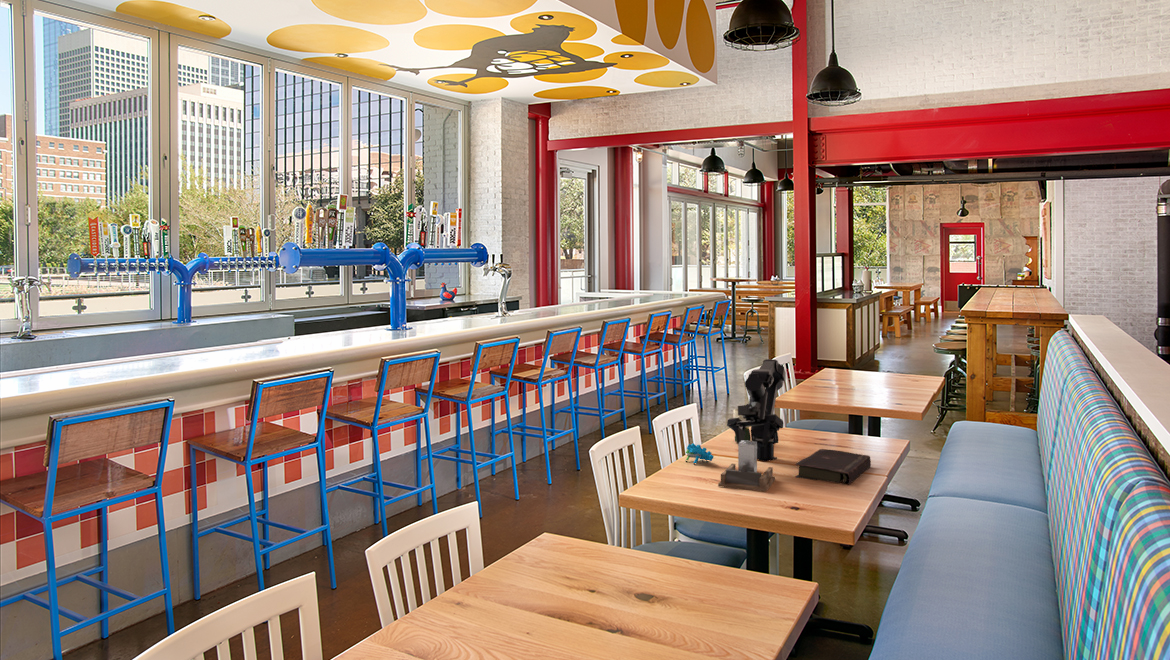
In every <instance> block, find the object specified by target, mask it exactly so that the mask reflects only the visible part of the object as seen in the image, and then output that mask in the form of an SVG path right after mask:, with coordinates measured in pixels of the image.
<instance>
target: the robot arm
mask: <svg viewBox="0 0 1170 660" xmlns="http://www.w3.org/2000/svg"><path fill="white" fill-rule="evenodd" d="M786 375H787V374H786V369H785V367H784V365H782V364H780V363H779V360H777V359H768V358H766V359H763V361H762V364H761V365H760V367H759V368H758V369H757V368H756V369H752V370H751V372H750V373H749V375H748V377H747V378H746V379H745V381H744V385H745V390H746V391H747V395H748V396H749V400H748V403H746V404H744V405H743V404H742V405H737V409H738V415H739V416H740V415H743V418H744V419H747V421H742V420H740V419H739V418H734V417H732V418H731V417H730V418H729V419H727V422H726V426H727V427H728V428H729V429H731V430H732V431H733V432H734V435H735V434H736V438H737V445H738V444H739V442H740V441H741V440H744V436H745V431H744V430H745V428H746V426H751V427H750V437H751V441H757V459H759V460H758V461H761V460H762V461H761V462H770V461H774V460H777V459H778V457H777V456H775V452H774V451H775V447H774V446H775V445H776V444H779V433H778V431H780V429H783V428H784V420H783V419H782V418H781V417H779V416H778V415H777V414H776V413H774V411H775V407H776V405H775V404H776V400H777V394H778V391H779V390H780V389H782V388H783V386H784V382H785V381H786V379H787V377H786ZM773 459H774V460H773ZM769 460H770V461H769Z"/></svg>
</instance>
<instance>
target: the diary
mask: <svg viewBox="0 0 1170 660" xmlns="http://www.w3.org/2000/svg"><path fill="white" fill-rule="evenodd" d="M871 461H872V460H871V456H870V455H868V454H862V453H861V454H860V453H859V454H858V453H855V452H854V453H853V452H849V451H844V450H836V449H828V448H827V449H825V448H820V449H818V450H816V451H815V452H813V453H812V454H809V456H807V457H804V458H802V459H800V460H799V461H797V462H796V463H795V464H794V465H795V466H798V475H796V476H795V478H796V479H804V480H805V479H806V480H811V481H812V480H813V481H822V482H823V481H824V482H831V483H837V484H839V483H841V484H845V483H846V482H847V481H848V482H847V486H850V485H851V484H852V483H853V482H854V481H855V480H856V479H857V478H859V477H860V476H861V475H862V474H863V473H864V472H866V471H867V470H868V469H869V468H870V467H871V465H872V464H871V463H872V462H871Z"/></svg>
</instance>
